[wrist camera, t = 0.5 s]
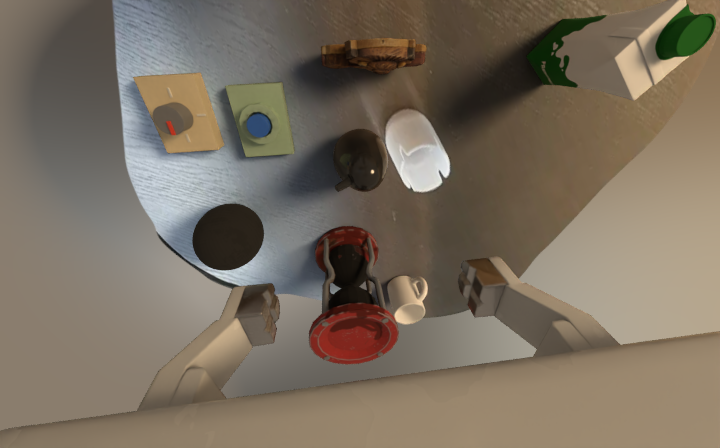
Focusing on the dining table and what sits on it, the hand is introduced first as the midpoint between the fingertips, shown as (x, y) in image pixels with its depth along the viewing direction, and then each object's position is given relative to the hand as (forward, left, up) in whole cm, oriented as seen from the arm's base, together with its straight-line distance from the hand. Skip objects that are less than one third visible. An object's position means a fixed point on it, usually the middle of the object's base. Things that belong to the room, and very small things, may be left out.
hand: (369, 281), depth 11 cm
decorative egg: (+21, -24, -44) cm, 55 cm away
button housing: (+1, -14, -44) cm, 46 cm away
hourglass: (+34, -1, -44) cm, 56 cm away
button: (+1, -14, -41) cm, 43 cm away
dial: (-1, -27, -41) cm, 49 cm away
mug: (+47, +15, -44) cm, 67 cm away
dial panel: (-1, -27, -44) cm, 52 cm away
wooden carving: (-8, +6, -44) cm, 46 cm away
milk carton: (-7, +39, -44) cm, 60 cm away
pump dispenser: (+8, +3, -44) cm, 45 cm away
